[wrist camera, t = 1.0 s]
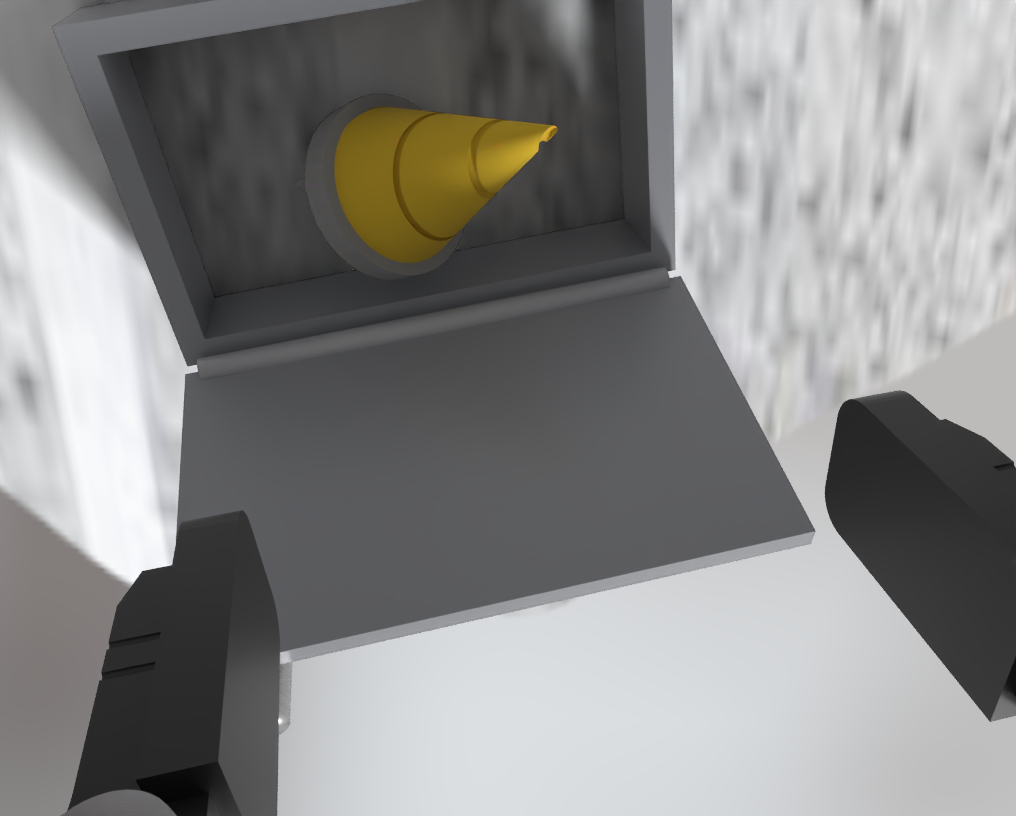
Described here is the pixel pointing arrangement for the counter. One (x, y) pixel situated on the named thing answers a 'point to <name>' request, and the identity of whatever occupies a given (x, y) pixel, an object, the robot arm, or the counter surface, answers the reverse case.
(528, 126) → the drill bit
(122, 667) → the robot arm
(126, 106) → the case
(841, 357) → the counter surface
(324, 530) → the lid
